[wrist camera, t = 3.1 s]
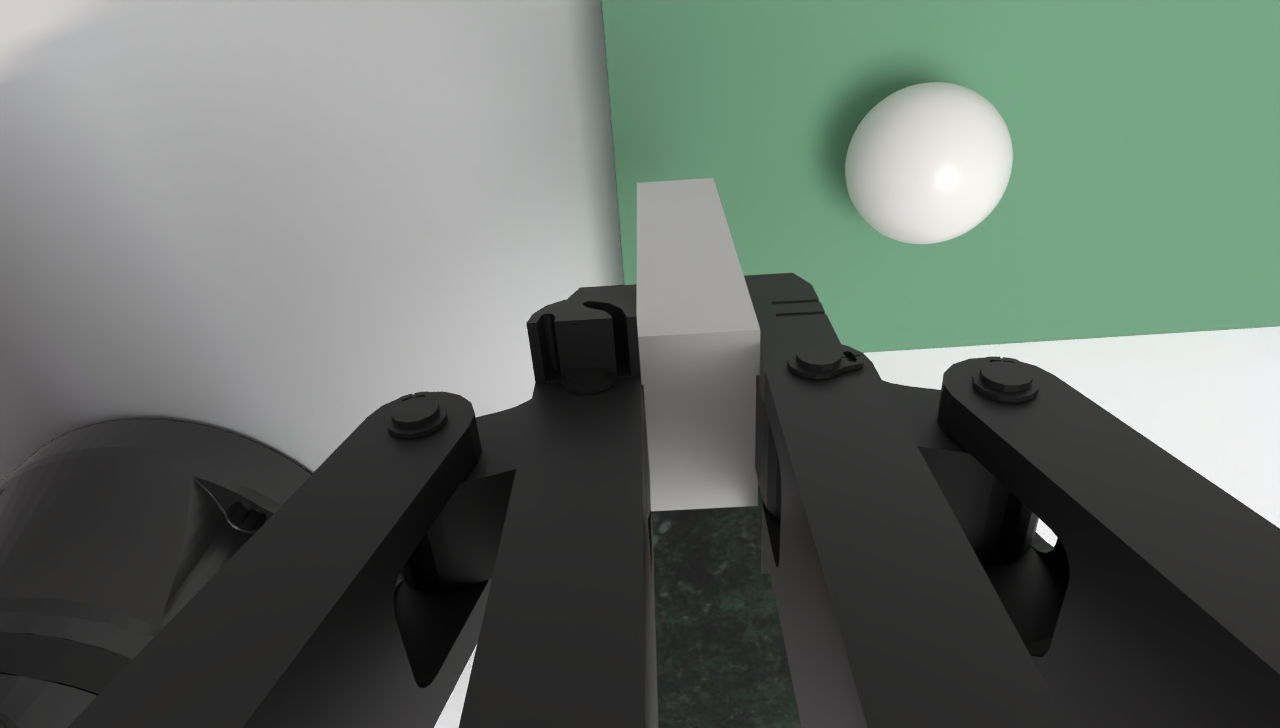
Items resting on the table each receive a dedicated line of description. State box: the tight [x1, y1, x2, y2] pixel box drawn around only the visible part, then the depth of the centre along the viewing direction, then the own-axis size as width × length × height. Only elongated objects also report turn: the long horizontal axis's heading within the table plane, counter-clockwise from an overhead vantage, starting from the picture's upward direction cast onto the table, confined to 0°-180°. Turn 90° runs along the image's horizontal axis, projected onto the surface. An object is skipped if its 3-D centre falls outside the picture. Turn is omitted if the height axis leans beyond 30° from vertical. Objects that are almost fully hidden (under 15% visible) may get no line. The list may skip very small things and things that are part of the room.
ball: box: [845, 82, 1013, 244], centre depth 20 cm, size 4×4×4 cm
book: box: [651, 482, 802, 728], centre depth 35 cm, size 17×4×25 cm
